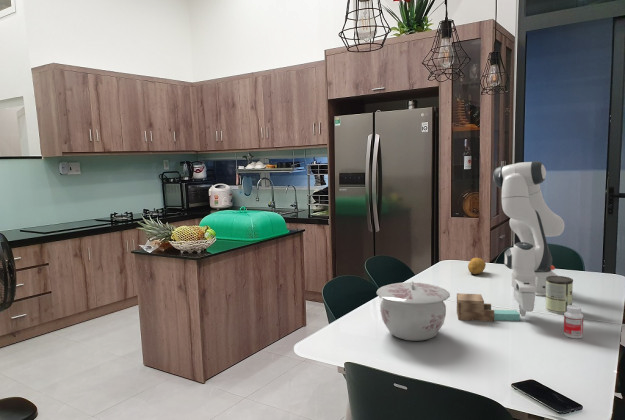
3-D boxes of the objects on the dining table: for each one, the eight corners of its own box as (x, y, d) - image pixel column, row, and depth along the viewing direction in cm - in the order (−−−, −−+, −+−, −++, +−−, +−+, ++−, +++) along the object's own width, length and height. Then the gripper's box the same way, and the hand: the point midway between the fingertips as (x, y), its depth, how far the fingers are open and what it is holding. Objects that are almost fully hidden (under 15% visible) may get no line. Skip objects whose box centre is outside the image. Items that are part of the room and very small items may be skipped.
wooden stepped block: (490, 313, 195) (490, 294, 194) (494, 321, 185) (494, 301, 185) (456, 312, 198) (456, 293, 197) (458, 319, 189) (458, 300, 188)
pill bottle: (570, 331, 173) (571, 303, 172) (586, 336, 167) (587, 307, 166) (559, 334, 170) (560, 306, 169) (575, 340, 164) (576, 310, 163)
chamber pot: (407, 355, 156) (407, 296, 154) (363, 330, 180) (362, 279, 178) (467, 338, 169) (467, 284, 167) (417, 317, 193) (417, 269, 191)
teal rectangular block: (489, 320, 188) (489, 313, 187) (486, 316, 193) (486, 309, 192) (519, 321, 186) (519, 314, 186) (516, 317, 191) (516, 310, 191)
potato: (463, 258, 261) (479, 259, 255) (472, 256, 271) (488, 256, 265) (464, 275, 261) (480, 276, 255) (473, 271, 271) (489, 272, 265)
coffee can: (544, 305, 204) (545, 274, 202) (570, 307, 199) (571, 276, 198) (545, 312, 194) (546, 280, 193) (573, 315, 190) (574, 282, 189)
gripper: (510, 276, 196) (509, 306, 198) (520, 288, 177) (519, 323, 178) (525, 276, 195) (525, 307, 196) (537, 289, 175) (537, 324, 177)
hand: (522, 315), depth 187 cm, fingers closed
